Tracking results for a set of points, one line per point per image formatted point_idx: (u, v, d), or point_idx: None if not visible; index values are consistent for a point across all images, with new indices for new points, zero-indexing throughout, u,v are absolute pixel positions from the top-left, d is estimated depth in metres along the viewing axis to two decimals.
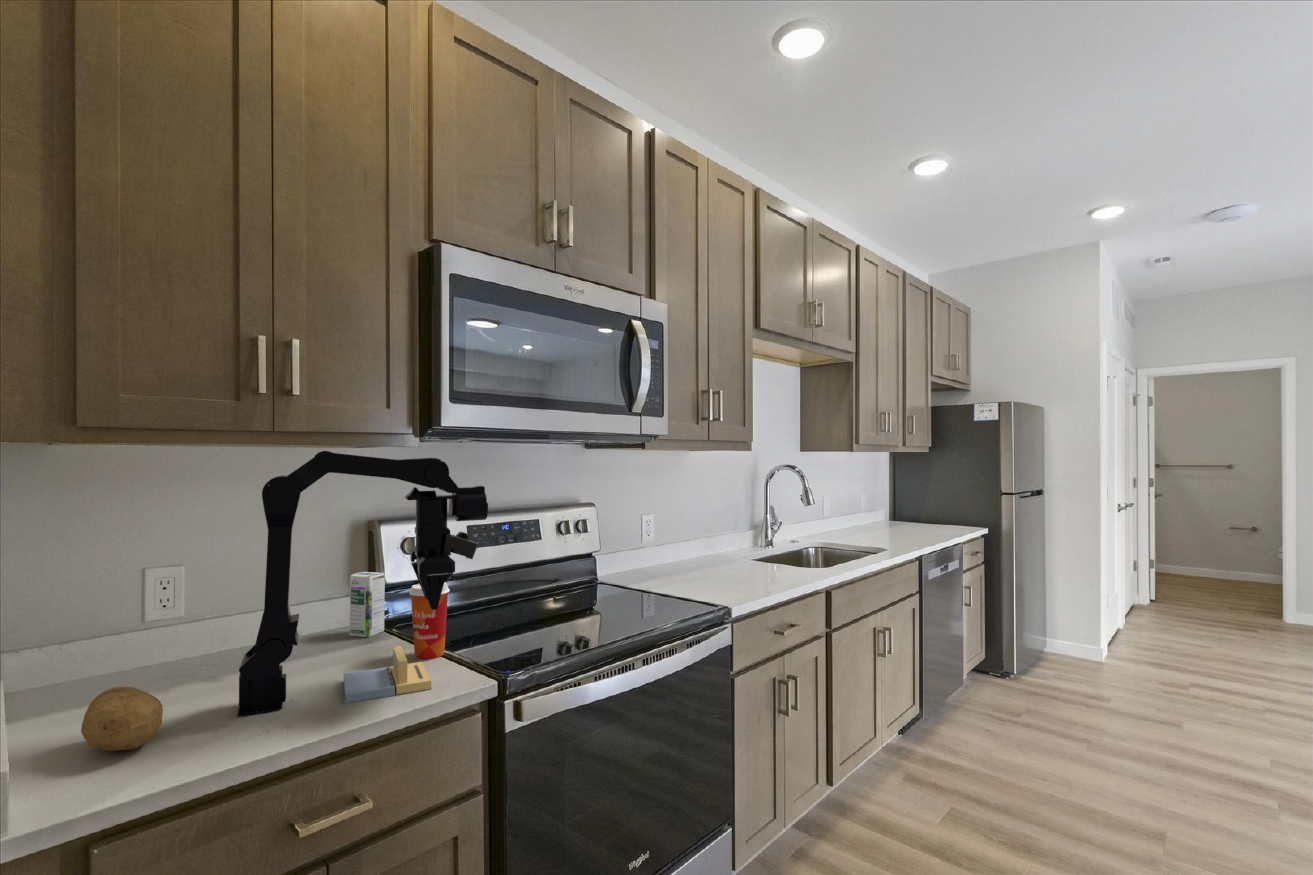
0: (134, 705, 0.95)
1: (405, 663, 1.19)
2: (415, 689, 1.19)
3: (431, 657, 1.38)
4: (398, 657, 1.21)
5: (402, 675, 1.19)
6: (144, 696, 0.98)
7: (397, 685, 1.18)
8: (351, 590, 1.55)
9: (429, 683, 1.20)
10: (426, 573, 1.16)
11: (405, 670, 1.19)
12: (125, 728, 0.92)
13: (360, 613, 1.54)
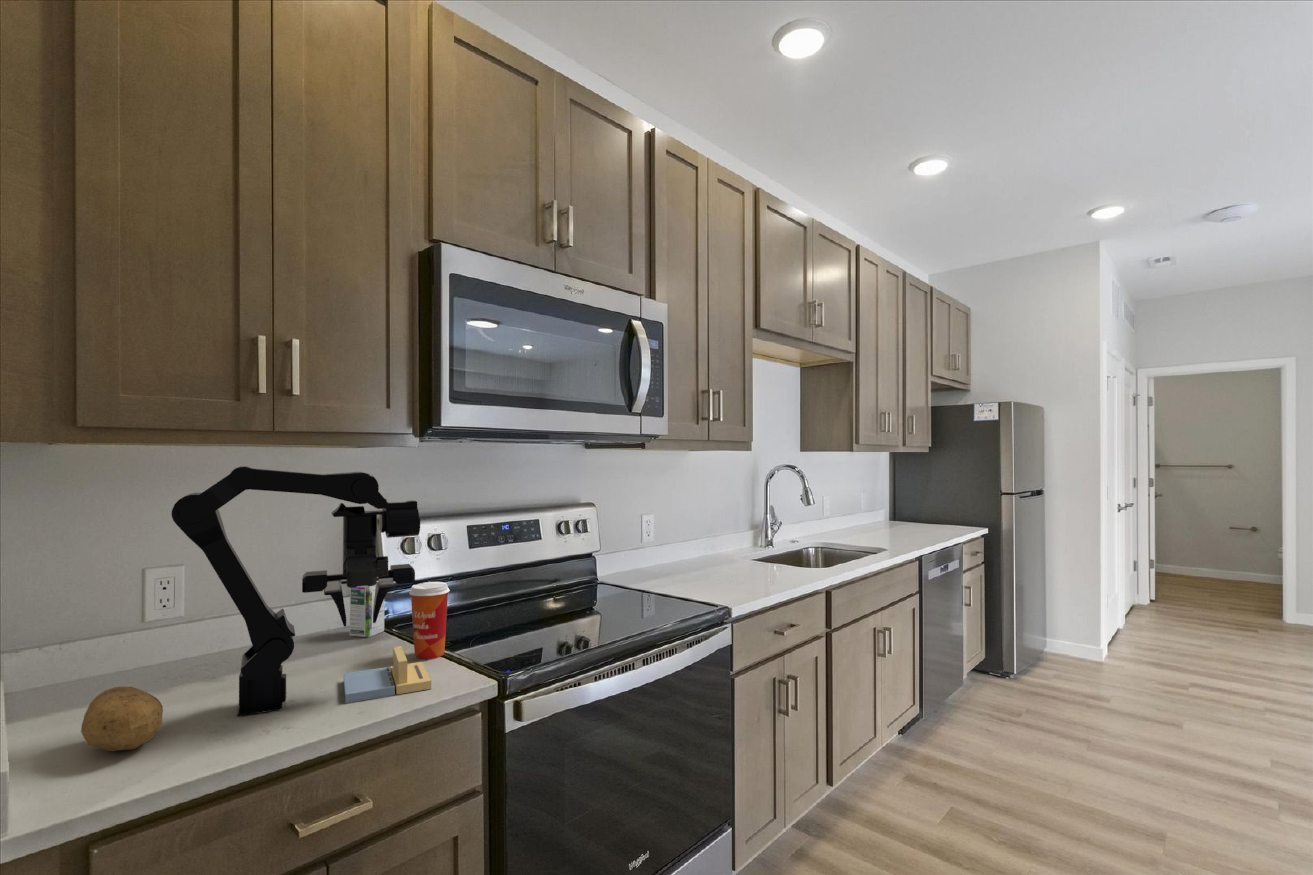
0: (134, 705, 0.95)
1: (405, 663, 1.19)
2: (415, 689, 1.19)
3: (431, 657, 1.38)
4: (398, 657, 1.21)
5: (402, 675, 1.19)
6: (144, 696, 0.98)
7: (397, 685, 1.18)
8: (351, 590, 1.55)
9: (429, 683, 1.20)
10: None
11: (405, 670, 1.19)
12: (125, 728, 0.92)
13: (360, 613, 1.54)
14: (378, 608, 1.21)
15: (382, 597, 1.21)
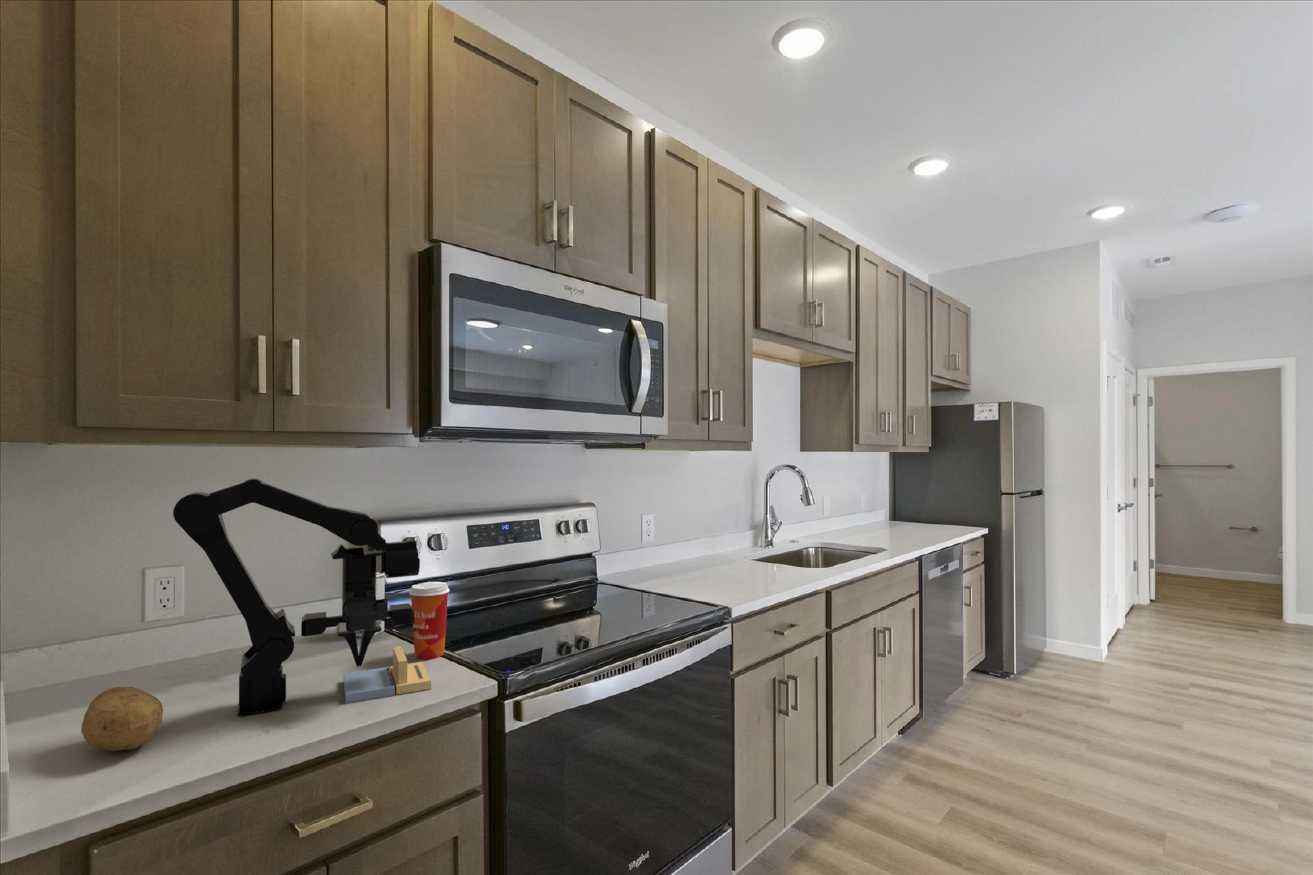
0: (134, 705, 0.95)
1: (405, 663, 1.19)
2: (415, 689, 1.19)
3: (431, 657, 1.38)
4: (398, 657, 1.21)
5: (402, 675, 1.19)
6: (144, 696, 0.98)
7: (397, 685, 1.18)
8: None
9: (429, 683, 1.20)
10: None
11: (405, 670, 1.19)
12: (125, 728, 0.92)
13: None
14: (364, 651, 1.20)
15: (368, 640, 1.20)
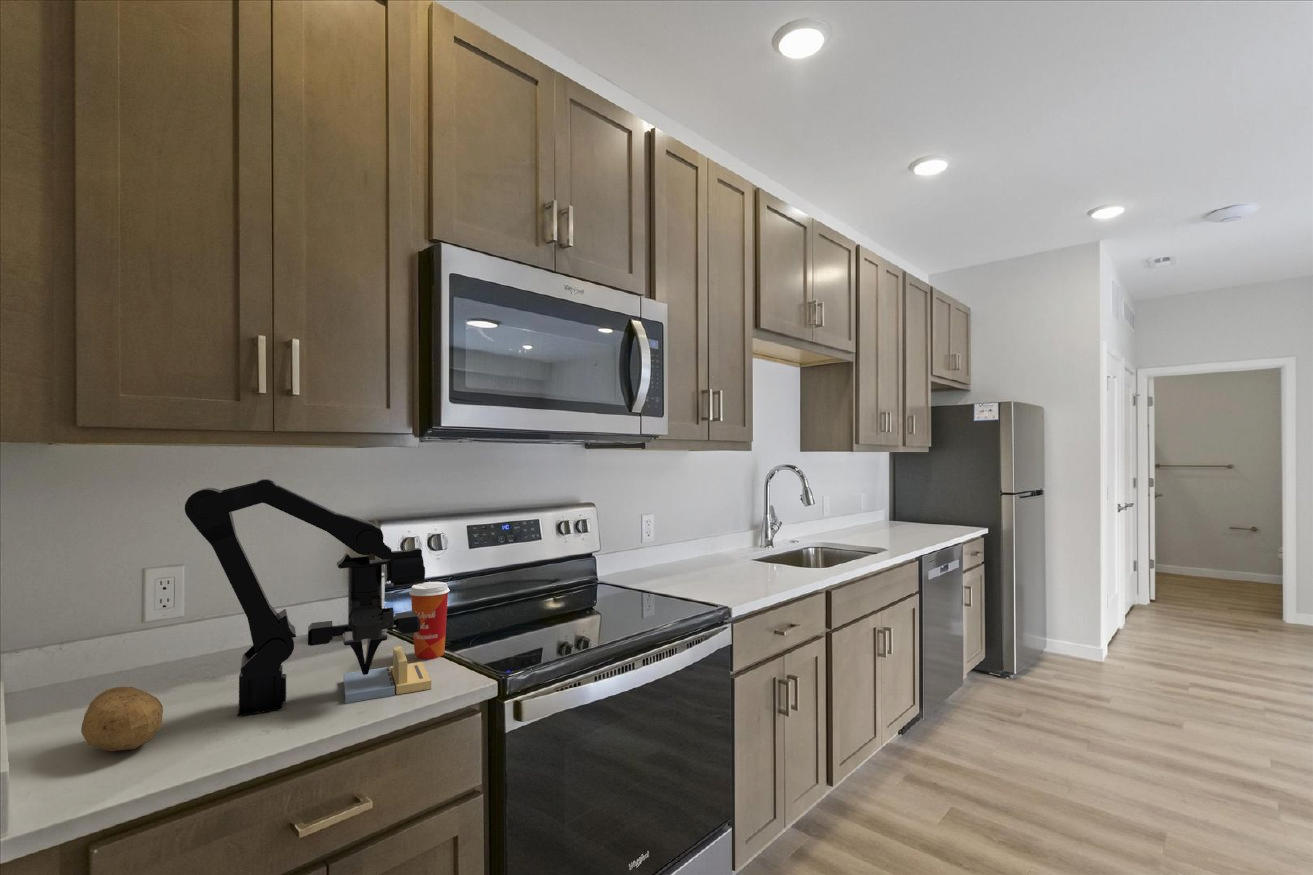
0: (134, 705, 0.95)
1: (405, 663, 1.19)
2: (415, 689, 1.19)
3: (431, 657, 1.38)
4: (398, 657, 1.21)
5: (402, 675, 1.19)
6: (144, 696, 0.98)
7: (397, 685, 1.18)
8: None
9: (429, 683, 1.20)
10: None
11: (405, 670, 1.19)
12: (125, 728, 0.92)
13: None
14: (370, 659, 1.20)
15: (374, 648, 1.20)
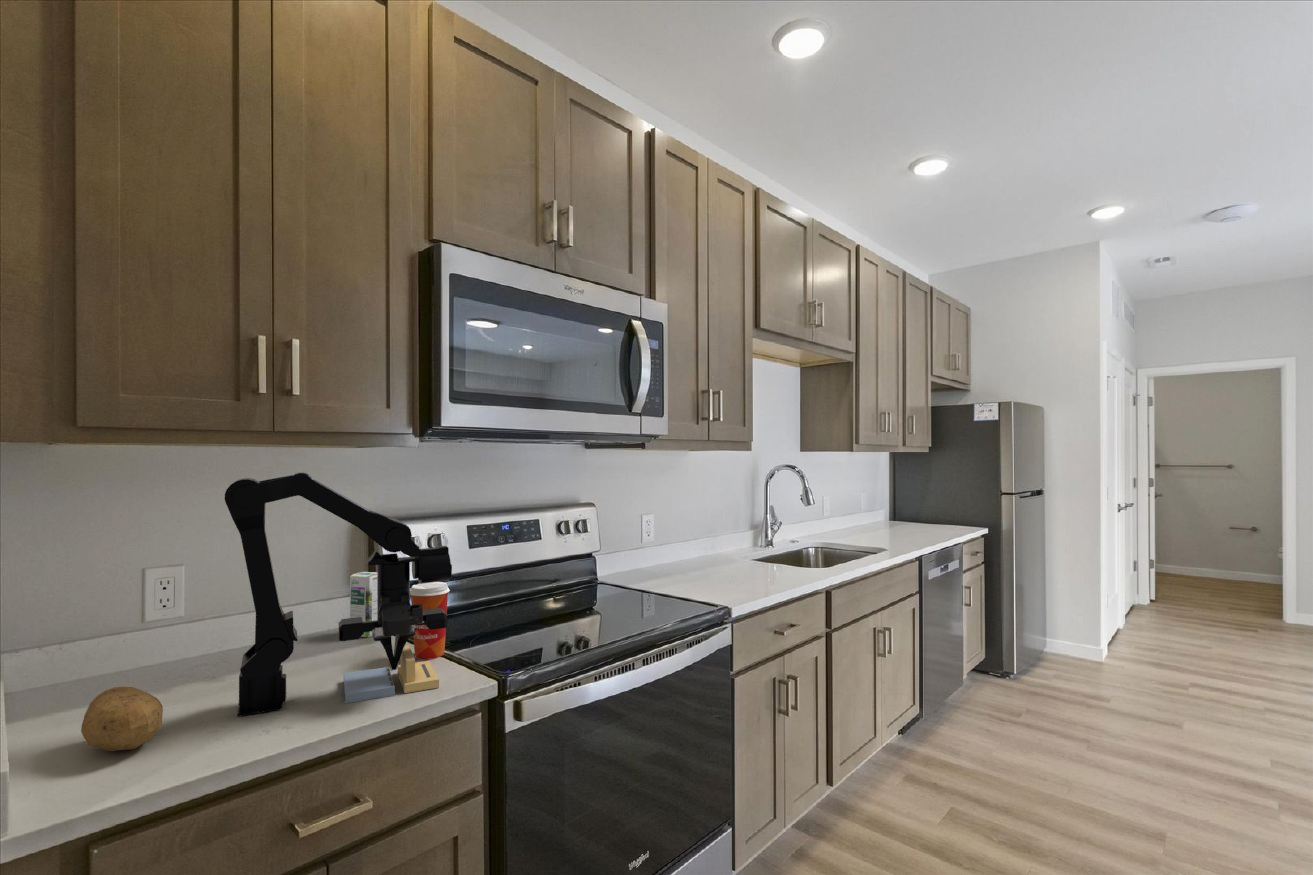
0: (134, 705, 0.95)
1: (413, 662, 1.20)
2: (423, 688, 1.20)
3: (431, 657, 1.38)
4: (406, 656, 1.22)
5: (410, 674, 1.20)
6: (144, 696, 0.98)
7: (405, 684, 1.19)
8: (351, 590, 1.55)
9: (437, 682, 1.21)
10: None
11: (413, 669, 1.20)
12: (125, 728, 0.92)
13: (360, 613, 1.54)
14: (399, 655, 1.23)
15: (402, 644, 1.23)
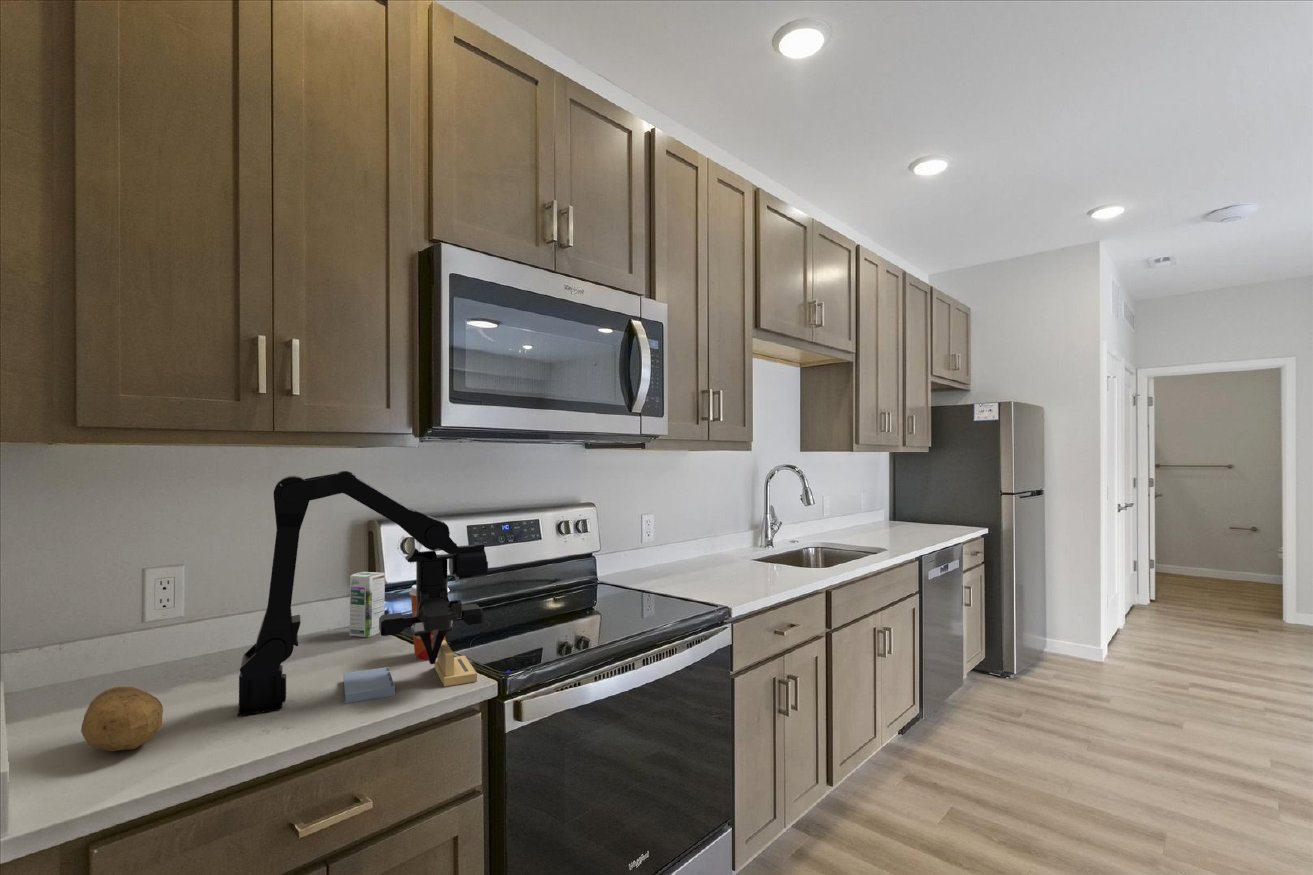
0: (134, 705, 0.95)
1: (452, 656, 1.23)
2: (462, 681, 1.23)
3: None
4: (444, 650, 1.25)
5: (449, 668, 1.23)
6: (144, 696, 0.98)
7: (445, 677, 1.22)
8: (351, 590, 1.55)
9: (475, 676, 1.24)
10: (379, 628, 1.24)
11: (452, 663, 1.23)
12: (125, 728, 0.92)
13: (360, 613, 1.54)
14: (437, 650, 1.26)
15: (441, 639, 1.26)
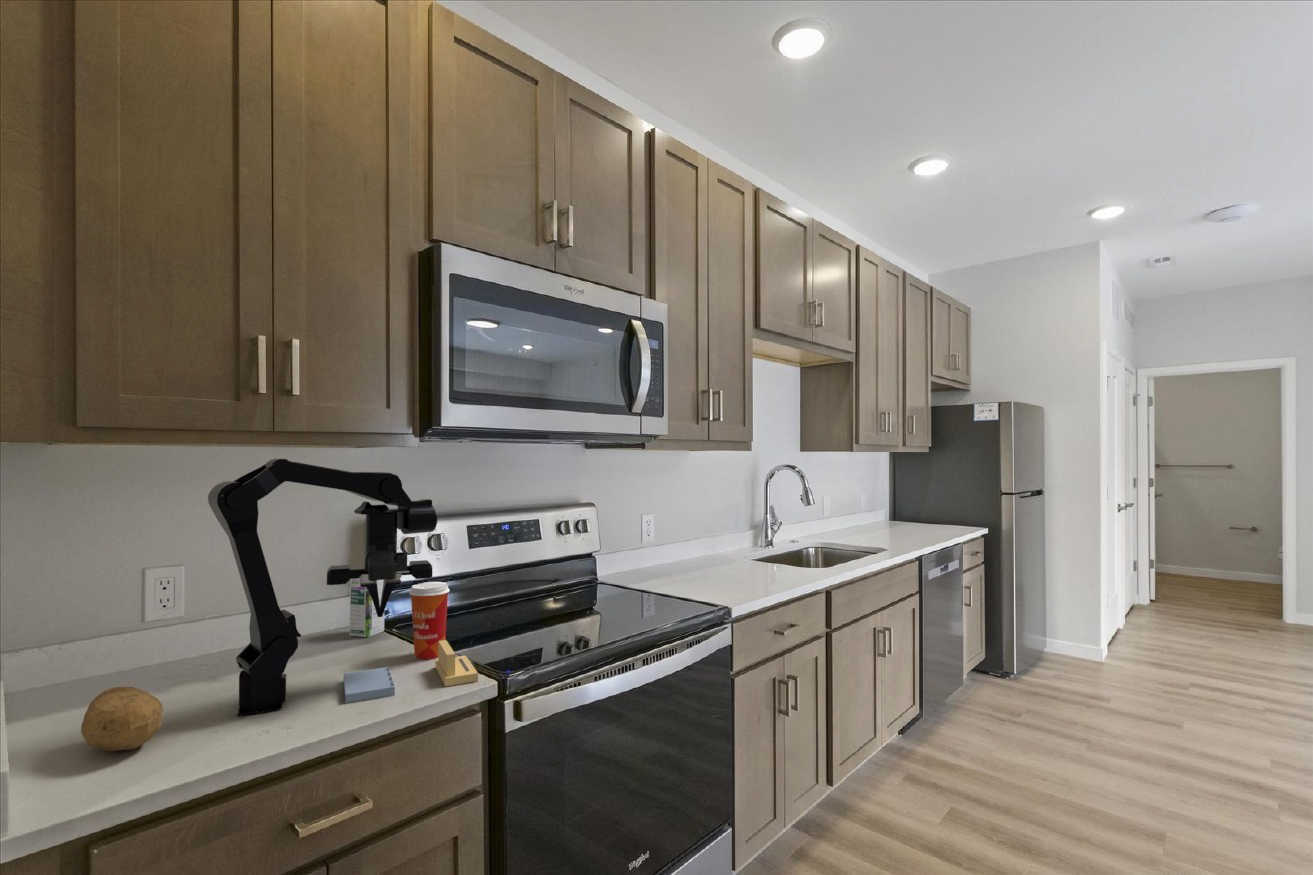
0: (133, 705, 0.95)
1: (453, 656, 1.23)
2: (463, 681, 1.23)
3: (431, 657, 1.38)
4: (445, 650, 1.25)
5: (450, 668, 1.23)
6: (144, 696, 0.98)
7: (446, 677, 1.22)
8: (351, 590, 1.55)
9: (476, 675, 1.24)
10: None
11: (453, 663, 1.23)
12: (125, 728, 0.92)
13: (360, 613, 1.54)
14: (385, 602, 1.27)
15: (389, 592, 1.27)
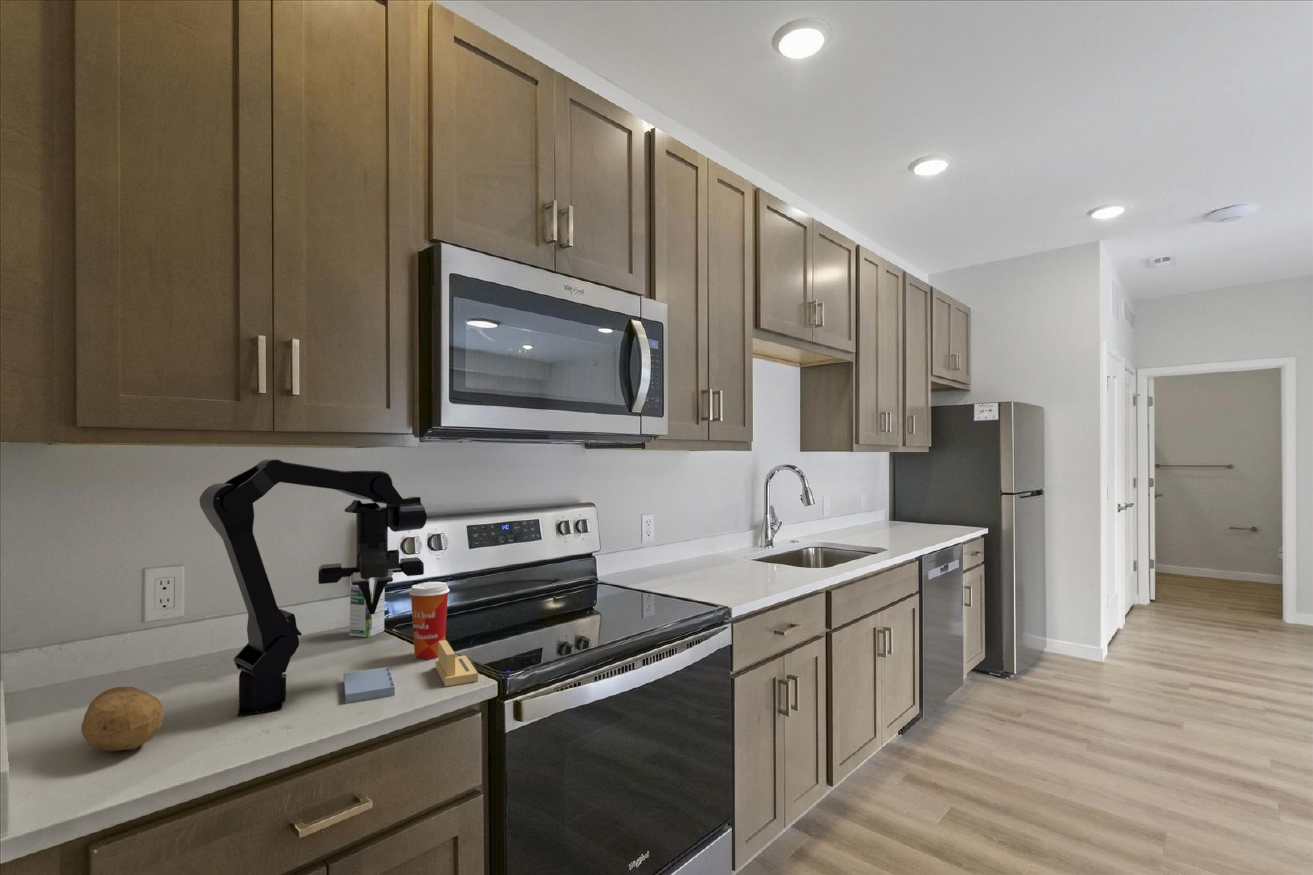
0: (134, 705, 0.95)
1: (453, 656, 1.23)
2: (463, 681, 1.23)
3: (431, 657, 1.38)
4: (445, 650, 1.25)
5: (450, 668, 1.23)
6: (144, 696, 0.98)
7: (446, 677, 1.22)
8: (351, 590, 1.55)
9: (476, 675, 1.24)
10: None
11: (453, 663, 1.23)
12: (125, 728, 0.92)
13: (360, 613, 1.54)
14: (377, 600, 1.27)
15: (380, 590, 1.27)
